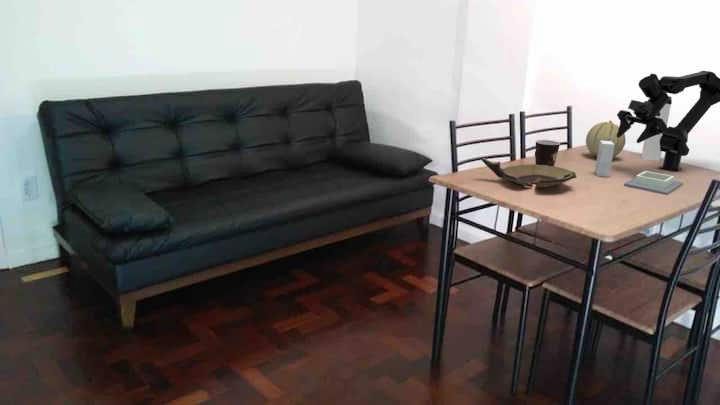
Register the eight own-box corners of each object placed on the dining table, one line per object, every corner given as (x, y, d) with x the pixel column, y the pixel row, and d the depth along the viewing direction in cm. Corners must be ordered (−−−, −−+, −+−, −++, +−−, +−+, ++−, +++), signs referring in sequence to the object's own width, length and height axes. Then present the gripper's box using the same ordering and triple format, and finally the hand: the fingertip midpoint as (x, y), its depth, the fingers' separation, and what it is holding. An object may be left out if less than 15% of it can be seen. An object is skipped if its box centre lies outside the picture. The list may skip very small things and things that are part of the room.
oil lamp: (561, 200, 190) (565, 176, 187) (473, 182, 206) (475, 160, 203) (581, 185, 207) (585, 163, 205) (499, 169, 223) (501, 149, 221)
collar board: (641, 176, 221) (643, 167, 220) (682, 184, 212) (684, 175, 211) (623, 185, 208) (625, 176, 207) (667, 194, 199) (669, 185, 198)
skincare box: (609, 177, 218) (615, 144, 214) (597, 176, 219) (602, 143, 215) (606, 173, 224) (611, 141, 220) (594, 172, 224) (599, 140, 221)
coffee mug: (547, 165, 232) (550, 139, 228) (561, 171, 224) (565, 144, 221) (520, 166, 228) (524, 140, 225) (534, 172, 220) (537, 145, 217)
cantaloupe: (584, 160, 242) (589, 122, 237) (582, 152, 255) (588, 116, 251) (623, 164, 238) (630, 126, 233) (620, 156, 251) (626, 120, 247)
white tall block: (637, 156, 252) (648, 95, 244) (653, 156, 252) (665, 96, 245) (647, 160, 245) (659, 98, 237) (663, 160, 246) (676, 98, 238)
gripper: (623, 88, 224) (597, 121, 223) (665, 95, 207) (637, 131, 207) (637, 107, 229) (611, 139, 229) (679, 115, 213) (651, 150, 213)
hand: (627, 139), depth 219 cm, fingers open, 9 cm apart
